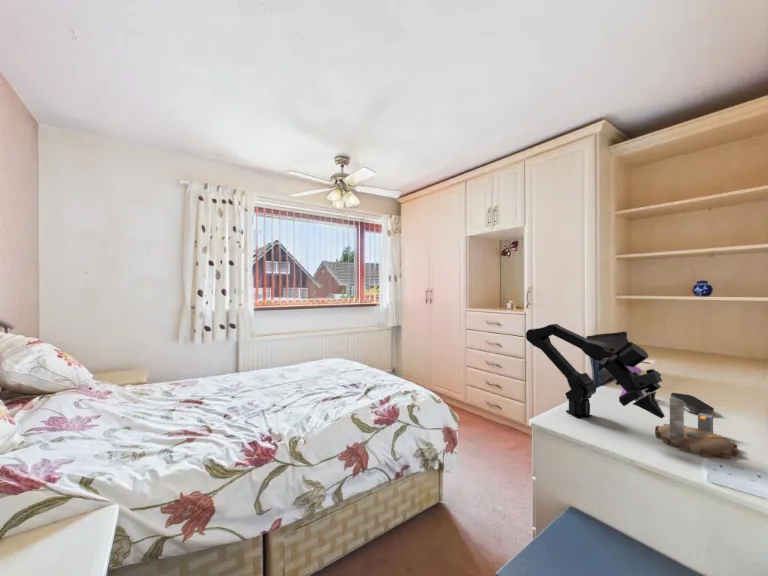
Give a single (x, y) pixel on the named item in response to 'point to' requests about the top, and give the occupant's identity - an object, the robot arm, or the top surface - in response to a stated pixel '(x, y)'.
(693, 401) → the black sponge
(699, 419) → the grey toy mallet
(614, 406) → the top surface
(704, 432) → the sprocket
